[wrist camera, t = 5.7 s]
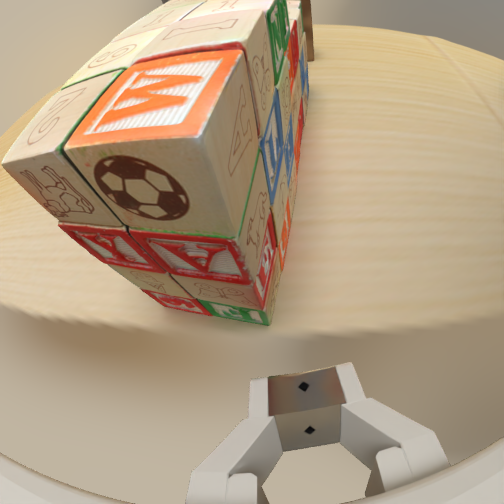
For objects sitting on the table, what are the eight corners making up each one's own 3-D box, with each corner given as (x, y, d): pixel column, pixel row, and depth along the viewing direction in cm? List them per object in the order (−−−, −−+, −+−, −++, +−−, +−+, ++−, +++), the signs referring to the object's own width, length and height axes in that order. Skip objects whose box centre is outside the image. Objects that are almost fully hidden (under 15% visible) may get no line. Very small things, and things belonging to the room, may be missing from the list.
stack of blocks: (244, 88, 25) (218, -26, 14) (309, 89, 23) (300, -33, 13) (163, 309, 16) (-9, 162, 5) (272, 330, 14) (192, 125, 3)
